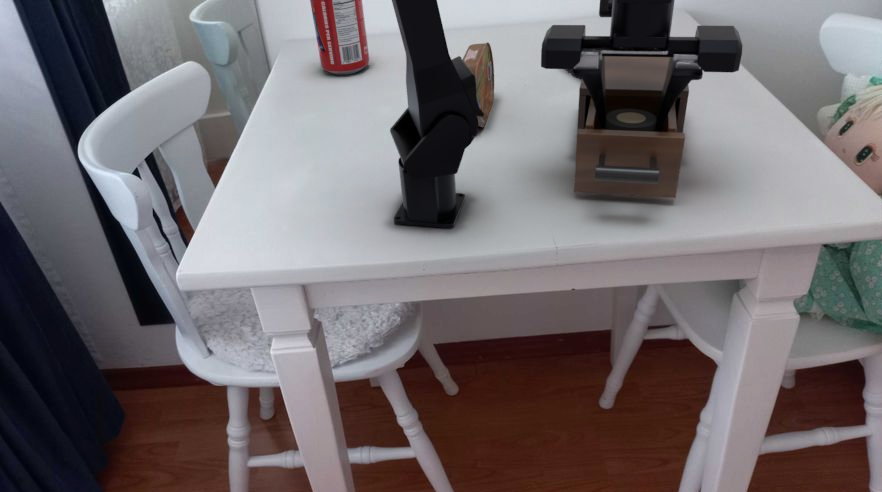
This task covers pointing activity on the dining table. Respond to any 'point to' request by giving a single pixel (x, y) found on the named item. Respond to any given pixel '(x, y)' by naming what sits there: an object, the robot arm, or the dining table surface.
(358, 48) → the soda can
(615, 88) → the cabinet
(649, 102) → the drawer
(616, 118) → the tape
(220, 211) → the dining table surface
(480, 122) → the tin
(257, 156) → the dining table surface
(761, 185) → the dining table surface
